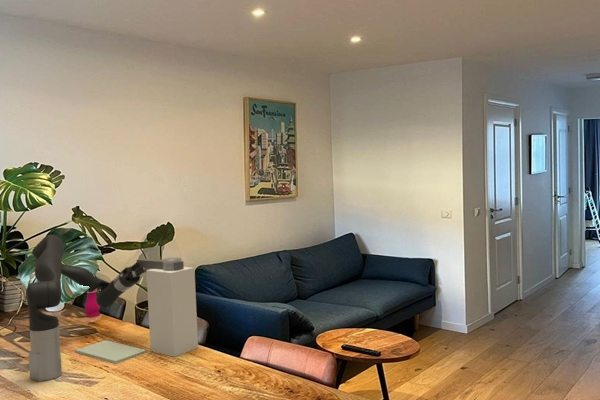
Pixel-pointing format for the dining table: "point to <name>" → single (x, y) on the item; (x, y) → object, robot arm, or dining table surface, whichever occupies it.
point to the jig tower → (172, 311)
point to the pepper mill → (92, 304)
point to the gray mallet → (162, 264)
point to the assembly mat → (110, 351)
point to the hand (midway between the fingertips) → (147, 262)
